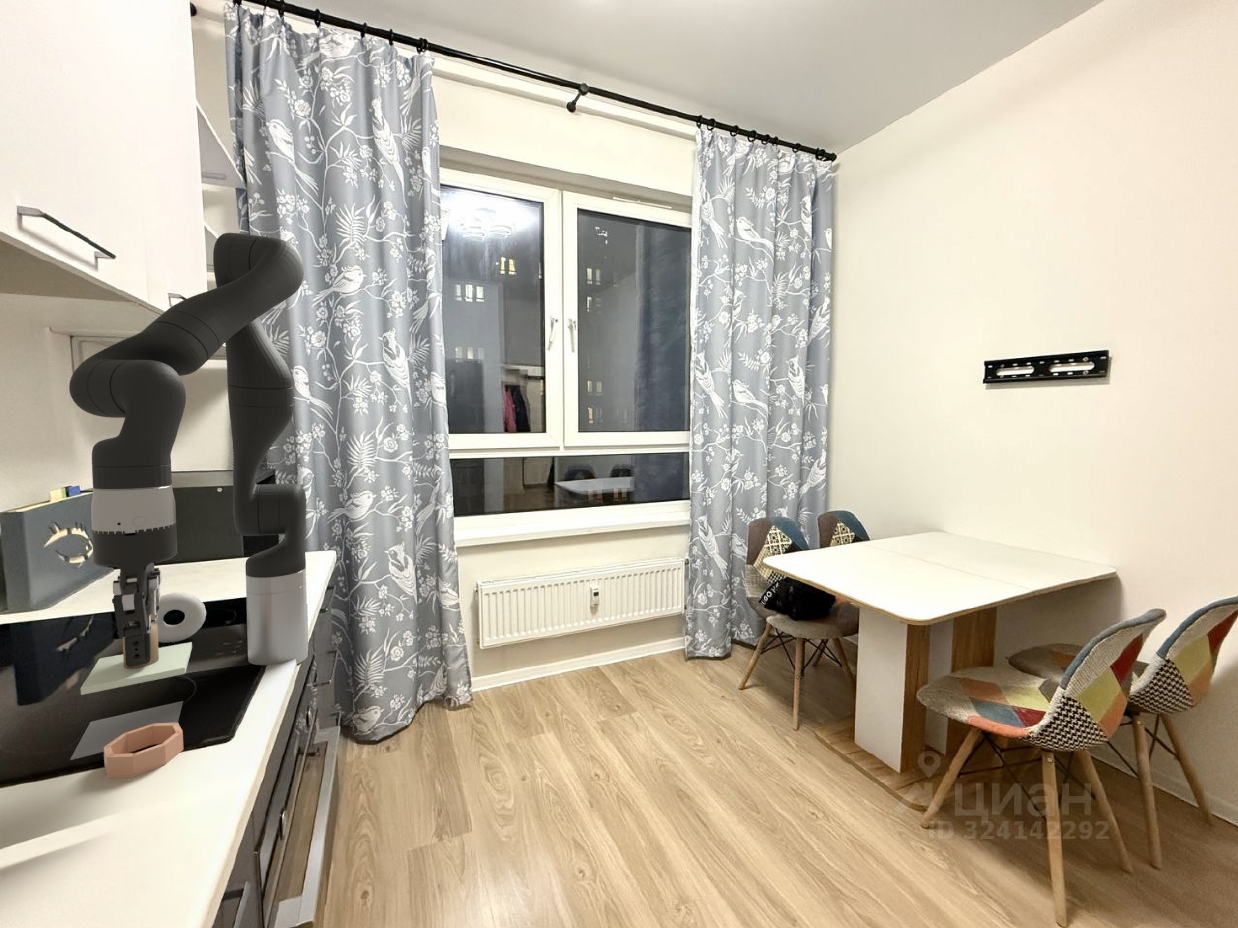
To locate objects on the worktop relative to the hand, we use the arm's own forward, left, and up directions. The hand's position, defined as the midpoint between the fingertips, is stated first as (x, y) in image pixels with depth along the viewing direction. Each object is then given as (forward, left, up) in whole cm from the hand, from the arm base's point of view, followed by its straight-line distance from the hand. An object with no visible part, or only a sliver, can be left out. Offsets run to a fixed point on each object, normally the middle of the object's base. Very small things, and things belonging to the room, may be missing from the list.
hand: (141, 657), depth 63 cm
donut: (-40, -25, -15) cm, 50 cm away
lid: (0, 0, -1) cm, 1 cm away
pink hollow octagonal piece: (0, 0, -15) cm, 15 cm away
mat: (-7, -7, -15) cm, 18 cm away
